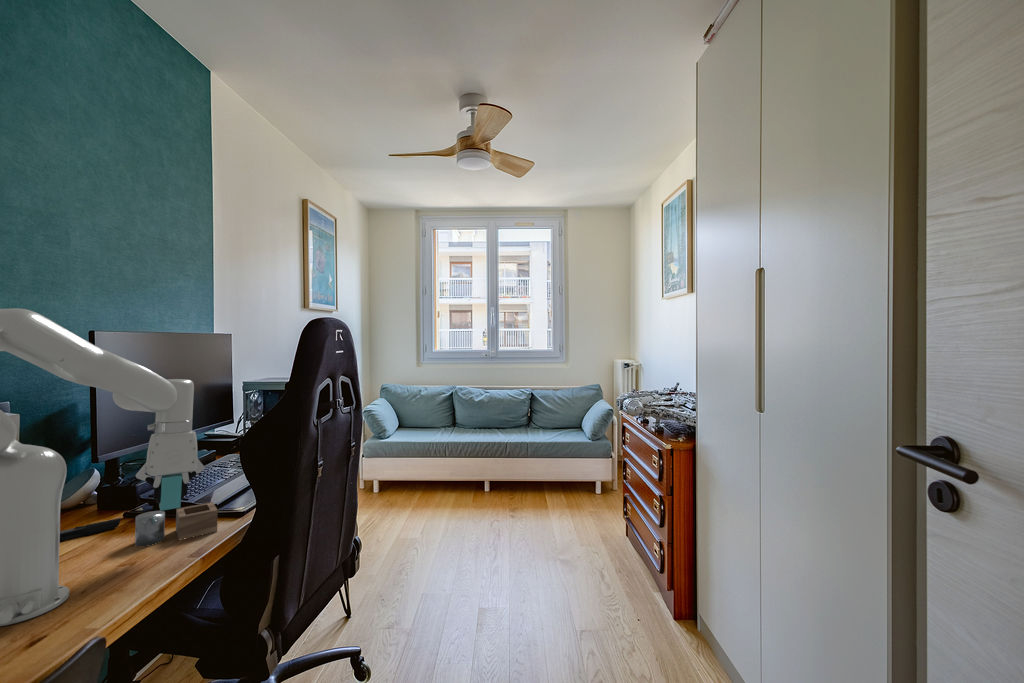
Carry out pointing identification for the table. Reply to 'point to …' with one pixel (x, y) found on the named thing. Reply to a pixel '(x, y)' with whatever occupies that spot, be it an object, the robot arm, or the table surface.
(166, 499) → the square peg
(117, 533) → the table surface
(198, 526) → the block
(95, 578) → the table surface
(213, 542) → the table surface
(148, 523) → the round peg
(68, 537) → the electric trimmer
